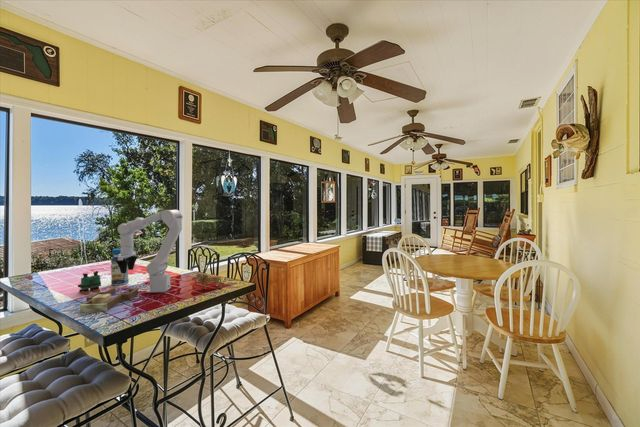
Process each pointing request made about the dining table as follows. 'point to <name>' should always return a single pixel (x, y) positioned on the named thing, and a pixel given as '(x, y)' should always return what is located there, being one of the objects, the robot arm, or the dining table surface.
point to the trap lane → (104, 307)
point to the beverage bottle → (117, 270)
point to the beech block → (101, 298)
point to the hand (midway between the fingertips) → (127, 271)
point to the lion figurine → (208, 279)
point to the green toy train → (90, 283)
